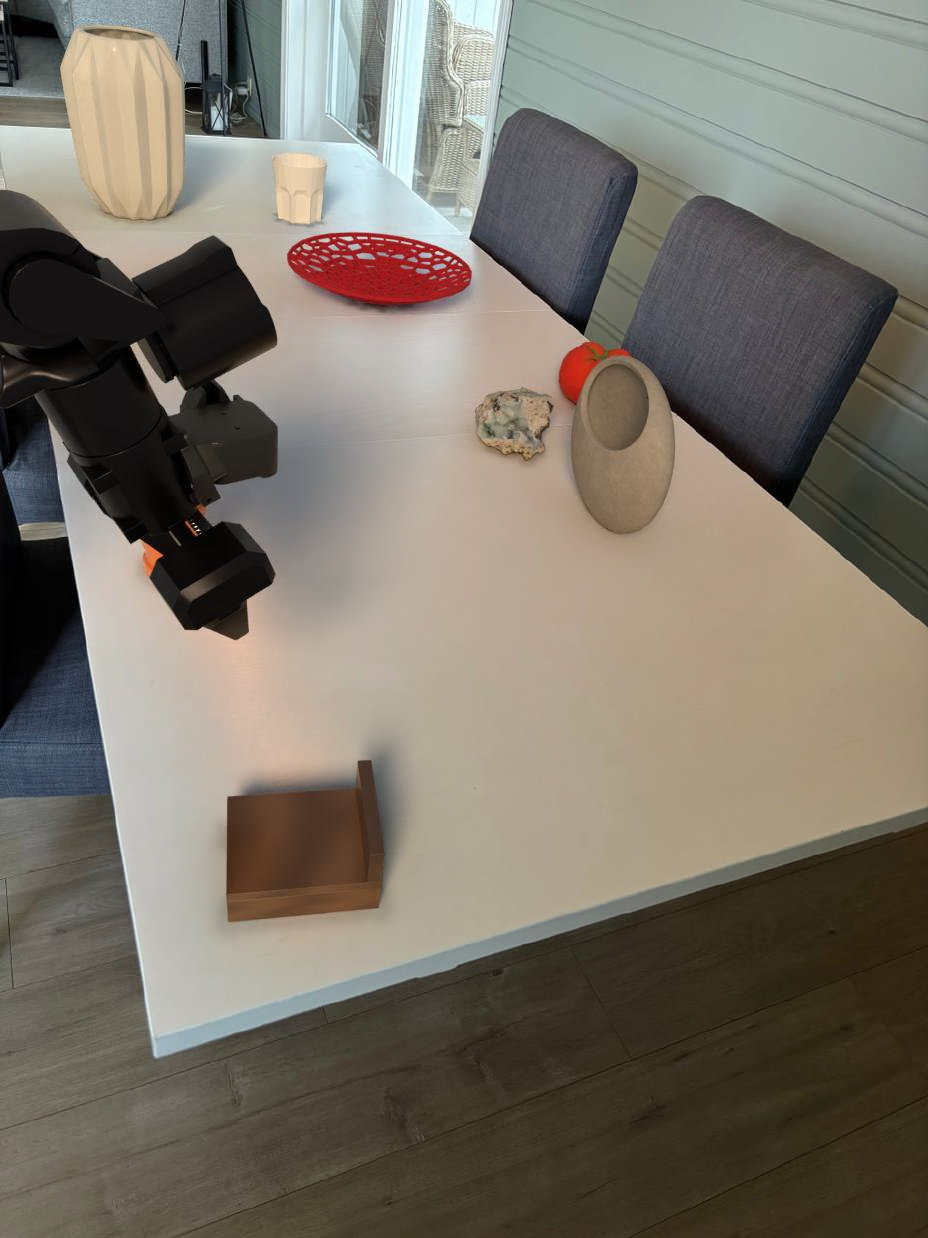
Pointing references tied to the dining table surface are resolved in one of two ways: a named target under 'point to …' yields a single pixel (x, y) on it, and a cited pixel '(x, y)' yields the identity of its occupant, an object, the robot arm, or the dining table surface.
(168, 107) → the vase
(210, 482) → the robot arm
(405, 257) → the bowl
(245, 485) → the dining table surface
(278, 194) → the cup
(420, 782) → the dining table surface
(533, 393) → the mineral specimen
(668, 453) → the planter
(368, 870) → the bookend
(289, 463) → the dining table surface
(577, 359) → the tomato
